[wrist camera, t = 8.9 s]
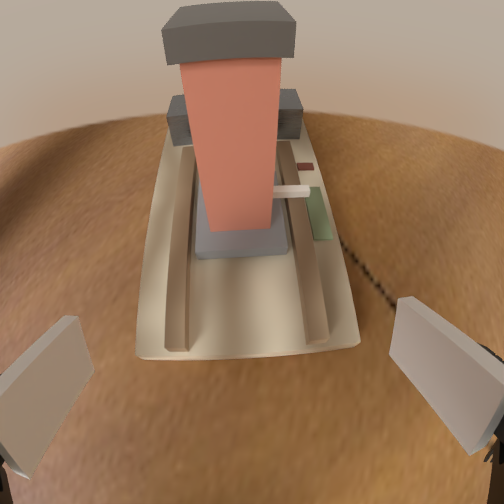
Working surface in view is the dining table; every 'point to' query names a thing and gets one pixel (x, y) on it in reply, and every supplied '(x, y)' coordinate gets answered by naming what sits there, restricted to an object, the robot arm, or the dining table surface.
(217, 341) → the cream base plate
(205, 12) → the handle
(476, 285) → the dining table surface
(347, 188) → the dining table surface
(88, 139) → the dining table surface
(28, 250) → the dining table surface
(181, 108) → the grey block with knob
